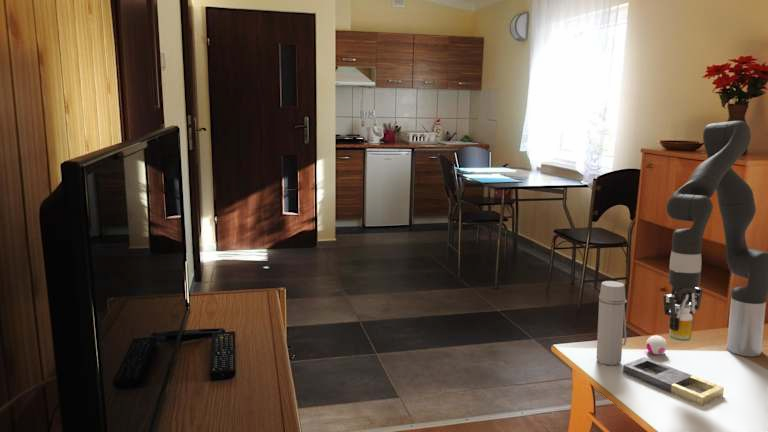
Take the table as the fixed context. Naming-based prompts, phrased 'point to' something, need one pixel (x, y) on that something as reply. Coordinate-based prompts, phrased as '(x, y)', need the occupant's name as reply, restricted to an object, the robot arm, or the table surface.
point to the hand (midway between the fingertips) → (680, 327)
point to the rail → (673, 381)
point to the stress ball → (656, 344)
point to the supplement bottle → (683, 327)
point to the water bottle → (611, 322)
